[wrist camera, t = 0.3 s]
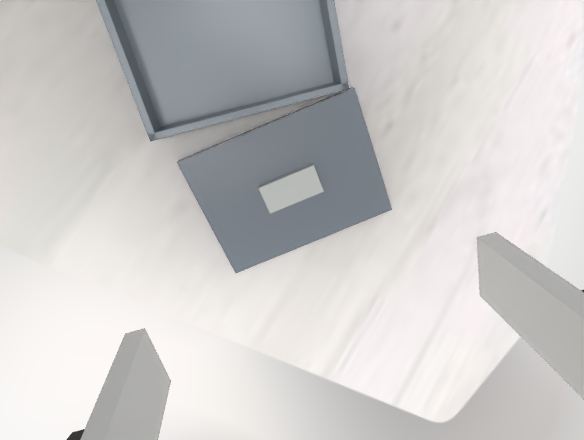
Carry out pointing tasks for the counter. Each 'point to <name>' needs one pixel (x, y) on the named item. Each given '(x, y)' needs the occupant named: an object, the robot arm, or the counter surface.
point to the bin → (223, 57)
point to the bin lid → (289, 181)
